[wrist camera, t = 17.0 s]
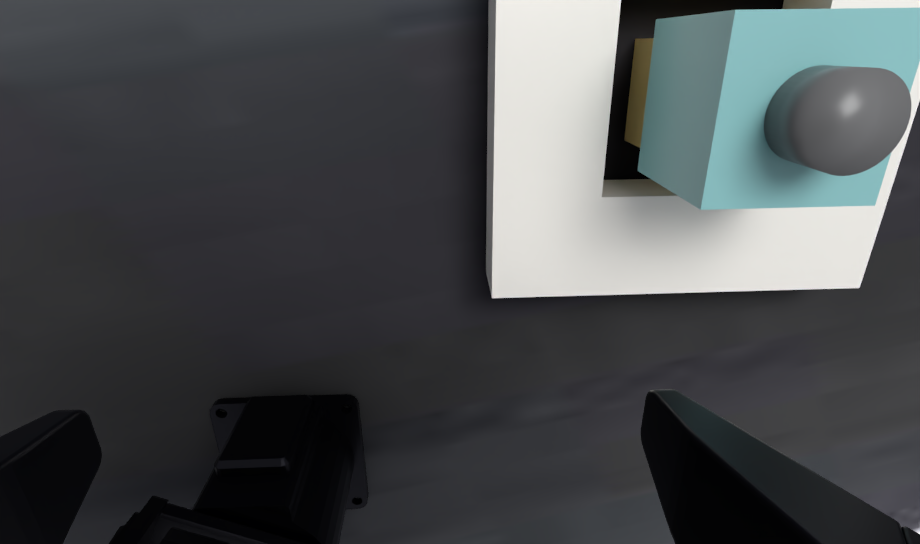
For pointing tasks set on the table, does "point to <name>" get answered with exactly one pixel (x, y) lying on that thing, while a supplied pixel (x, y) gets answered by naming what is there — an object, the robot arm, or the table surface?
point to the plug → (773, 104)
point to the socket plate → (630, 181)
